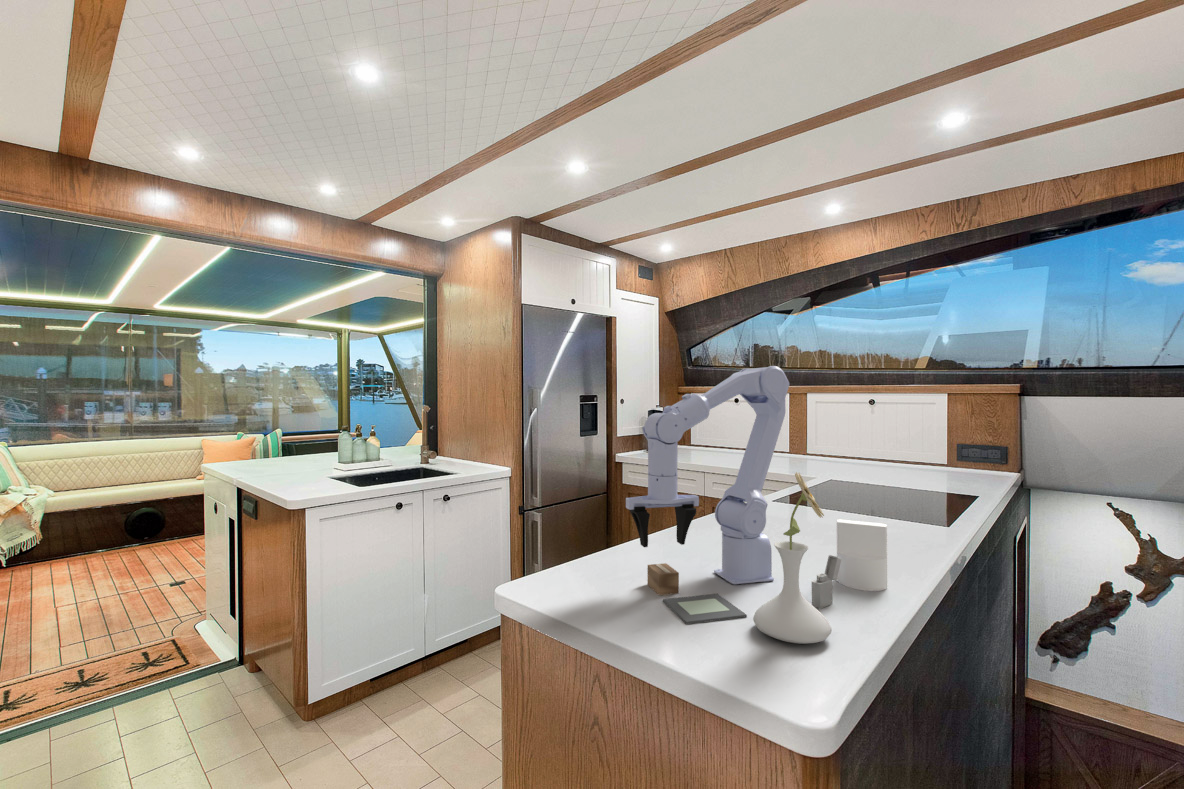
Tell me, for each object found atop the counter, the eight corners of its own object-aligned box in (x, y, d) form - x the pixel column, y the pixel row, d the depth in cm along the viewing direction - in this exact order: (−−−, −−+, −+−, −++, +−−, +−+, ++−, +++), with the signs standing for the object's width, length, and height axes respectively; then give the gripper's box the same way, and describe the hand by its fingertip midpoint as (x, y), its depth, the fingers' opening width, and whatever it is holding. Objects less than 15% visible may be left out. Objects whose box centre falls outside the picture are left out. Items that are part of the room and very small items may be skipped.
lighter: (820, 608, 90) (820, 562, 91) (811, 605, 92) (810, 560, 92) (841, 599, 95) (841, 556, 95) (832, 596, 96) (832, 553, 96)
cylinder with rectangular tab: (835, 586, 102) (835, 525, 102) (837, 572, 110) (837, 516, 110) (888, 594, 97) (888, 530, 98) (886, 579, 105) (886, 520, 106)
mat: (717, 595, 96) (717, 593, 96) (746, 617, 87) (746, 614, 87) (662, 601, 94) (662, 598, 94) (686, 624, 84) (686, 621, 84)
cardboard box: (666, 583, 103) (666, 562, 104) (678, 593, 98) (678, 572, 98) (647, 585, 102) (647, 564, 103) (659, 595, 97) (659, 573, 97)
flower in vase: (818, 660, 72) (817, 481, 73) (741, 636, 80) (740, 474, 80) (843, 629, 82) (843, 472, 83) (773, 610, 90) (772, 466, 90)
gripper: (687, 470, 106) (687, 536, 106) (620, 472, 102) (620, 541, 102) (703, 475, 99) (703, 546, 99) (632, 477, 96) (632, 551, 95)
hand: (662, 544), depth 100 cm, fingers open, 7 cm apart
